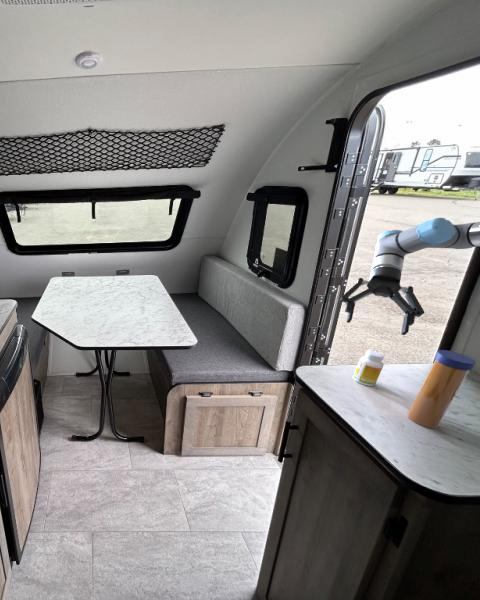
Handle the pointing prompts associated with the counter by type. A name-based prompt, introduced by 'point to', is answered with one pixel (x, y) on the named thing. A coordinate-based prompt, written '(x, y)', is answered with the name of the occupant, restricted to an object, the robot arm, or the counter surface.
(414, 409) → the jar
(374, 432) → the counter surface
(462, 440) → the counter surface
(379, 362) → the supplement bottle
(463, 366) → the jar lid
